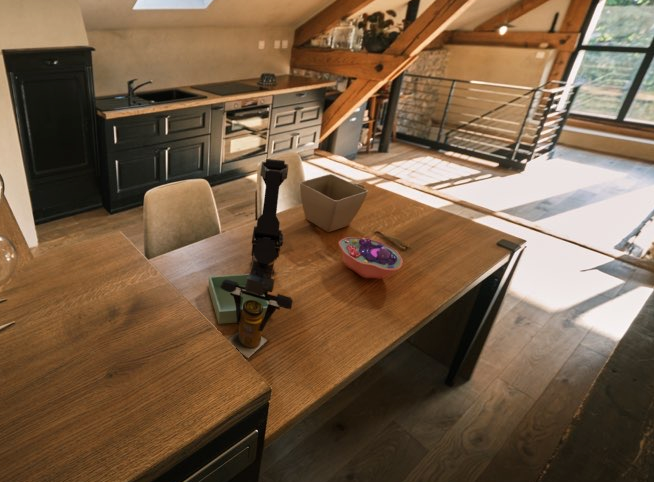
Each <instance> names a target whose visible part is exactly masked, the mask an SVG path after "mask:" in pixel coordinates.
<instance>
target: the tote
mask: <svg viewBox="0 0 654 482" xmlns="http://www.w3.org/2000/svg"><path fill="white" fill-rule="evenodd" d="M249 274H250V273H239V274H226V275H209V276H208V286H207V287H208V291H209V295H210V298H211V302H212V306H213V309H214V312H215V316H216V320H217V322H218V325H221V324H234V323H237V316H236V305H235V300H234V297H233V296H231V295H230V293H231V292H228V291H224V290H222V289H221V284H222V281H223V280H225V279H227V280H230V281H234V282H237V283H238V284H239V286H242V287H245V286H246V280H247V277H248V276H249ZM242 297H243V303H242V308H243V304H244V302H246V301H248V300H255V301H258V302H259V303H260V304H261V305H262V306H263V317H264V316H265V313H266V310H267V306H268V304H270V301H266V300H263V299H259V298H256V297H252V296H249V295H246V294H243V295H242ZM263 319H264V318H263ZM270 319H271V317H270V318H269V320H270Z"/></svg>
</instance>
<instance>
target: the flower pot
mask: <svg viewBox="0 0 654 482" xmlns="http://www.w3.org/2000/svg"><path fill="white" fill-rule="evenodd" d="M299 192H300V199H301V205H302V210H303V213H304V217H305V219H306V221H309V222H310V223H312V224H313V225H315V226H317V227H318V228H319V229H321V230H323V231H324V232H327V233H331V232H333V231H337V230H340V229H342V228H345V227H348V226H350V224H351V223H352V222H353V221H354V219H355V218H356V216H357V214H358V213H359V211H360V210H361V208H362V205H363V204H364V203H365V202H364V201H365V200H366V197H367V196H368V193H369V190H368V189H366V188H364V187H362V186H360V185H357V184H355V183H353V182H350V181H348V180H346V179H344V178H341V177H339V176H337V175H335V174H331V173H329V174H324V175H322V176H321V175H320V176H318V177H314V178H310V179H306V180H303V181H300V182H299Z"/></svg>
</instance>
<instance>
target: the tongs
mask: <svg viewBox="0 0 654 482" xmlns="http://www.w3.org/2000/svg"><path fill="white" fill-rule="evenodd" d="M374 233H375V234H378V235H379V236H382V237H383V238H385V239H387V241H390V242H391V243H392V244H393V245H396V246H397V247H399V248H400V249H402V250H404V251H405V250H406V248H407V249H408V248H409V247H410V245H409V243H405V242H404V241H402V240H400V239H399V238H397V237H394V236H390V235H387V234H384V233H382V232H381V231H378V230H375V231H374ZM401 244H402V245H403V246H402V245H401Z"/></svg>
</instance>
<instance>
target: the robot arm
mask: <svg viewBox="0 0 654 482" xmlns="http://www.w3.org/2000/svg"><path fill="white" fill-rule="evenodd" d="M260 165H261V166H260V174H259V175H260V177H261V179H262V180H263V182H264V185H265V190H264V197H263V206H262V214H261V215H260V216H259V217H258V218H257V221H256V225H254V226H253V231H252V237H251V255H250V256H251V263H250V266H251V267H250V272H249V273H248V274H249V276H248V277H247V280H246V286H245V287H242V286H239V284H238V283H237V282H234V281H230V280H227V279H225V280H223V281H222V284H221V289H222V290H224V291H228V292H231V293H230V295H231V296H233V297H234V300H235V305H236V316H237V322H236V324H237V325H240V314H241V311H242V303H243V297H242V295H243V294H246V295H249V296H252V297H256V298H259V299H263V300H266V301H268V302H269V304H268V306H267V310H266V313H265V316H264V319H263V322H262V325H261V330H260V331H262V332H263V331H264V329H265V327H266V325H267V323H268V322H269V320H270V319H271V317H272V316H273V315H274V313H275V312H276V311H281V308H283V309H286V310H290V311H291V310H292V307H293V303H294V301H293V298H292V297H291V296H288V295H284V294H279V293H277V295H273V294H270V293H273V291H274V286H275V278H272V276H273V275H275V270H274V265H275V262H276V261H277V260H278V258H279V257H280V252H281V247H283V243H284V234H283V230H282V229H280V224H281V221H280V220H279V219H278V216H277V211H278V203H279V194H280V193H279V192H280V186H281V185H283V183H284V182H285V180H287V179H288V173H289V164H288V163H287V164H286V161H285V160H282V159H274V158H266V159H265V161H261V164H260ZM269 318H270V319H269Z"/></svg>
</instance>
